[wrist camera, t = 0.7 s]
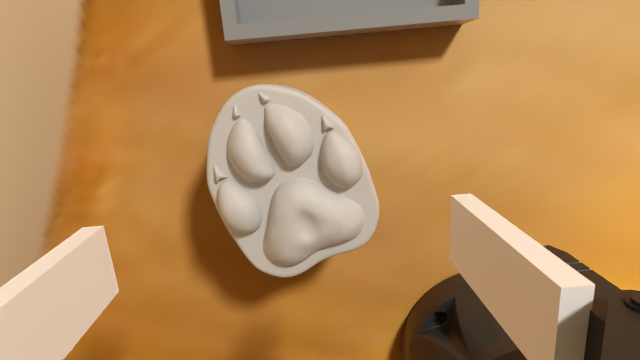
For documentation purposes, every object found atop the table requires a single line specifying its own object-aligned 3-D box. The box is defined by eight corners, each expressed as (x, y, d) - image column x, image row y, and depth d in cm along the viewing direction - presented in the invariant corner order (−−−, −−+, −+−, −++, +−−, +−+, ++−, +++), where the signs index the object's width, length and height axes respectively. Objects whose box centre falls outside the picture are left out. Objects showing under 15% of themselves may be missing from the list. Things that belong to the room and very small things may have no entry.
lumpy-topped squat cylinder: (269, 251, 35) (258, 304, 26) (196, 116, 32) (158, 127, 23) (377, 202, 34) (402, 240, 26) (314, 59, 31) (317, 50, 23)
